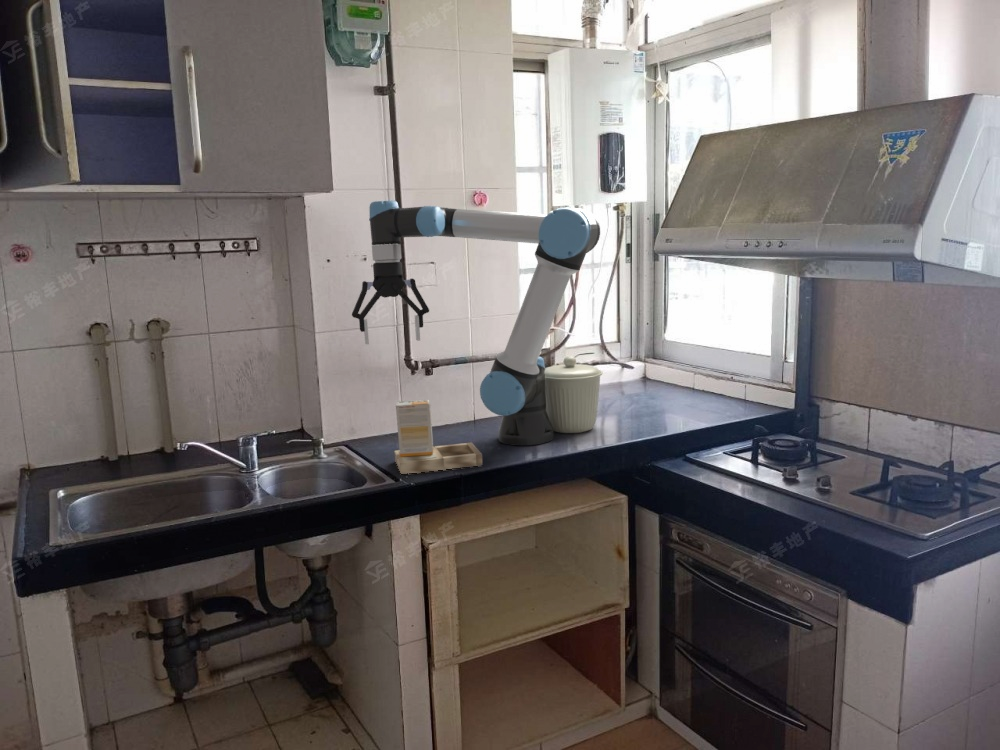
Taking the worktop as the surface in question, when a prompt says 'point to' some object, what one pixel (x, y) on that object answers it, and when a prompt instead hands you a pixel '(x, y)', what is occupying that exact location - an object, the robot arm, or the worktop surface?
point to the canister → (572, 396)
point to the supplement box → (414, 428)
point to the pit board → (440, 459)
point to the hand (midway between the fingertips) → (392, 342)
